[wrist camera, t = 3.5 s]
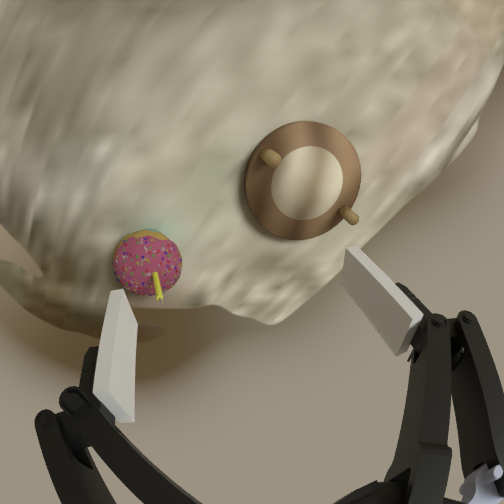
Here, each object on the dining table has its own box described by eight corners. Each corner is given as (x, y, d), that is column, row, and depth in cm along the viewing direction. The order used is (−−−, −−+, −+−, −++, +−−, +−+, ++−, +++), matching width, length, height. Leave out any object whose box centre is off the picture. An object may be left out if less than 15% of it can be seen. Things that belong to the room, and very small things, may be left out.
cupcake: (170, 208, 34) (168, 260, 24) (189, 263, 38) (196, 326, 29) (109, 227, 33) (86, 284, 23) (132, 279, 38) (123, 343, 28)
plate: (239, 236, 38) (246, 253, 34) (250, 114, 30) (260, 117, 26) (342, 233, 42) (357, 248, 38) (364, 131, 34) (384, 137, 30)
